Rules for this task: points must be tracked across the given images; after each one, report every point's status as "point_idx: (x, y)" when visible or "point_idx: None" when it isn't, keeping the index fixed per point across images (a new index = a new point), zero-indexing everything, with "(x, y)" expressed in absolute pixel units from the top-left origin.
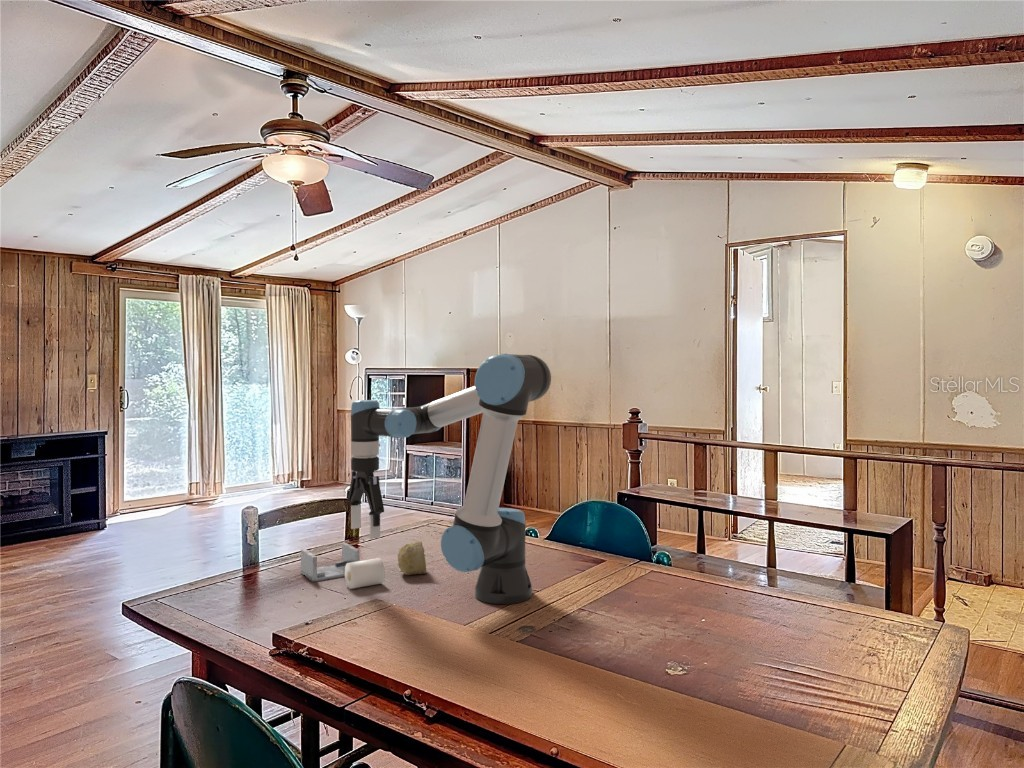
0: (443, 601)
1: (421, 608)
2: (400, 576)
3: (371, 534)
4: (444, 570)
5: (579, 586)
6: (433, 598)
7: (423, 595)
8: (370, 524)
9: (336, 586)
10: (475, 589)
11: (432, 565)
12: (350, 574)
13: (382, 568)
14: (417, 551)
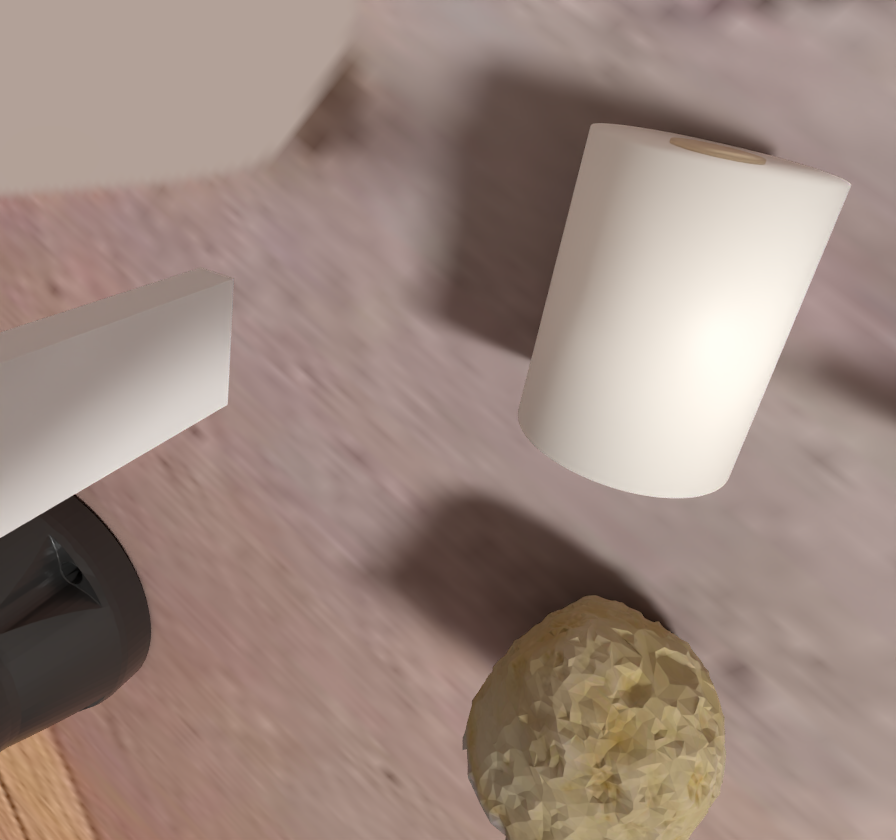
0: None
1: (75, 218)
2: (641, 577)
3: (158, 290)
4: None
5: (9, 775)
6: None
7: (237, 379)
8: (44, 325)
9: (884, 90)
10: (48, 516)
11: None
12: (675, 142)
13: (522, 404)
14: (494, 748)
